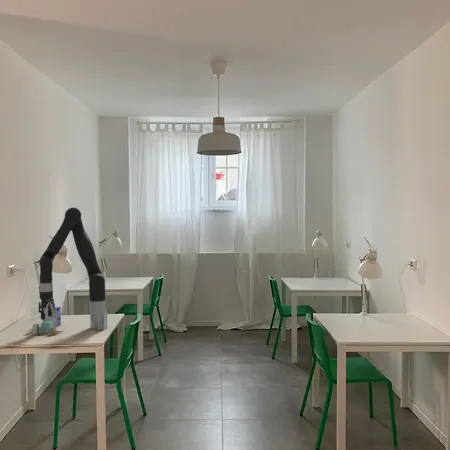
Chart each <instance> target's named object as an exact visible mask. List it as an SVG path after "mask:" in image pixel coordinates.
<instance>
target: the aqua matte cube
mask: <svg viewBox="0 0 450 450" xmlns="http://www.w3.org/2000/svg"><path fill="white" fill-rule="evenodd" d="M51 327H54V321H44V322H43V321H42V322H40V329H41V330H40V331H41V333H50V328H51Z"/></svg>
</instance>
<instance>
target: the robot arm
mask: <svg viewBox="0 0 450 450" xmlns="http://www.w3.org/2000/svg"><path fill="white" fill-rule="evenodd" d="M70 233H72V236H73V240H74V245H75V247H76V250H77V253H78V256H79V258H80V260H81V262H82V264H83V265H84V266H85V269H86V272H87V276H88V289H89V290H88V292H89V317H90V319H89V322H90V324H89V326H90V330H94V331H101V330H102V331H104V330H105V329H106V330H107V328H108V311H107V307H106V306H107V305H106V301H107V300H106V279H105V276H104V274H103V273H102V270H101V269H100V266H99V264H98V261H97V260H98V259H97V256H96V252H95V249H94V246H93V243H92V241H91V239H90V237H89V235H88V233H87V231H86V229H85V227H84V224H83V220H82V213H81V210H80V209H79V208H77V207H70V208H68V209H67V210H66V211H65V213H64V217H63V220H62V223H61V225H60V226H59V228H58V230H57V232H55V234H54V235H53V237H52V239H51V240H50V242H49V244H48V246H47V248H46V249H45V251H44V252H43V254H42V255H41V257H40V258H39V261H38V264H39V287H38V289H39V292H38V293H39V295H38V296H39V297H38V298H39V300H41V301H39V302H38V313H40V320H42V321H43V320H44V319H45V311H46V310H47V309H48V316H49V317H51V316H52V309H53V308H54V303H55V299H54V284H53V267H54V264H53V261H54V260H55V258H56V256H57V255H58V254H59V253H60V251H61V249H62V248H63V246H64V244H65V242H66V239H67V238H68V236H69V235H70Z"/></svg>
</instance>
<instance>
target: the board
mask: <svg viewBox="0 0 450 450" xmlns="http://www.w3.org/2000/svg"><path fill="white" fill-rule="evenodd" d="M64 332H65V330H57V334H56V335H50V333H41V330H39V335H33V330H31V331H29V332H27V333H26V334H25V333H24V334H23V335H22V336H25V337H26V336H27V337H28V336H29V337H30V336H32V337H33V336H34V337H35V336H36V337H37V336H38V337H39V336H40V337H42V336H44V337H57V336H58V335H60V334H62V333H64Z"/></svg>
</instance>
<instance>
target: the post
mask: <svg viewBox="0 0 450 450" xmlns="http://www.w3.org/2000/svg"><path fill="white" fill-rule="evenodd" d="M32 331H33V335H39V331H40V324H39V323H34V324H32Z"/></svg>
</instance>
